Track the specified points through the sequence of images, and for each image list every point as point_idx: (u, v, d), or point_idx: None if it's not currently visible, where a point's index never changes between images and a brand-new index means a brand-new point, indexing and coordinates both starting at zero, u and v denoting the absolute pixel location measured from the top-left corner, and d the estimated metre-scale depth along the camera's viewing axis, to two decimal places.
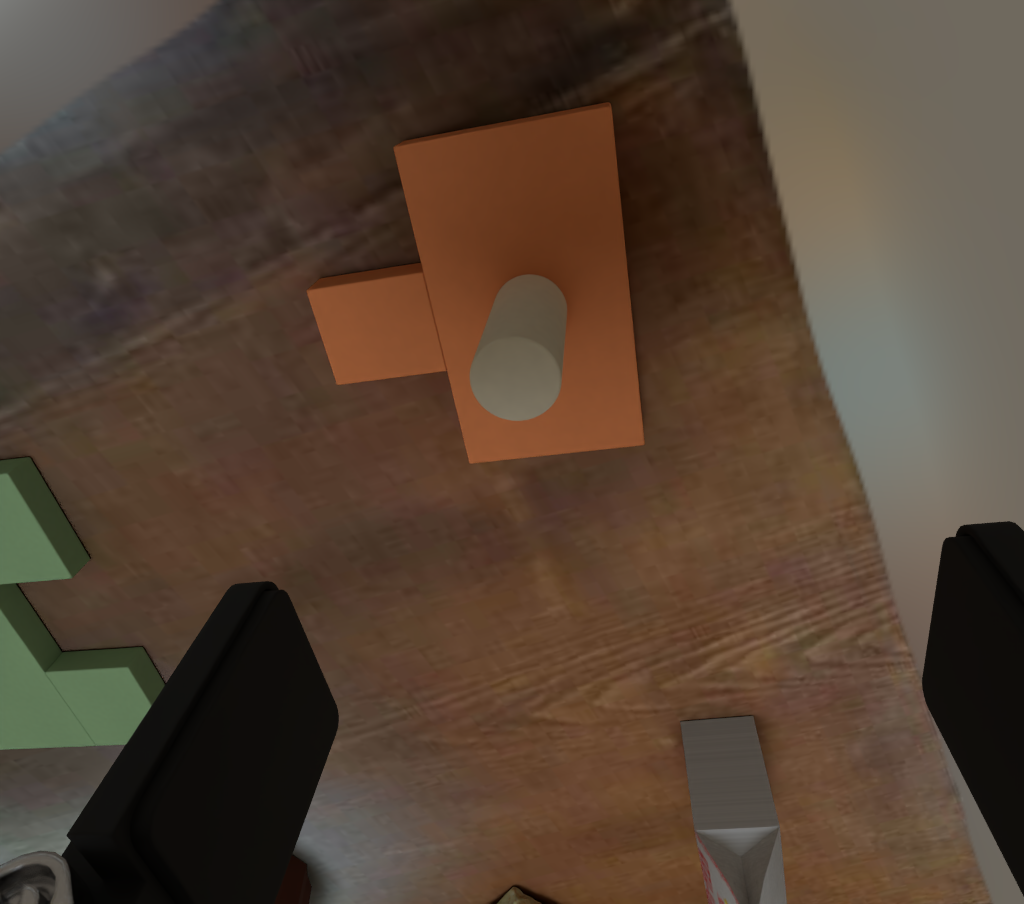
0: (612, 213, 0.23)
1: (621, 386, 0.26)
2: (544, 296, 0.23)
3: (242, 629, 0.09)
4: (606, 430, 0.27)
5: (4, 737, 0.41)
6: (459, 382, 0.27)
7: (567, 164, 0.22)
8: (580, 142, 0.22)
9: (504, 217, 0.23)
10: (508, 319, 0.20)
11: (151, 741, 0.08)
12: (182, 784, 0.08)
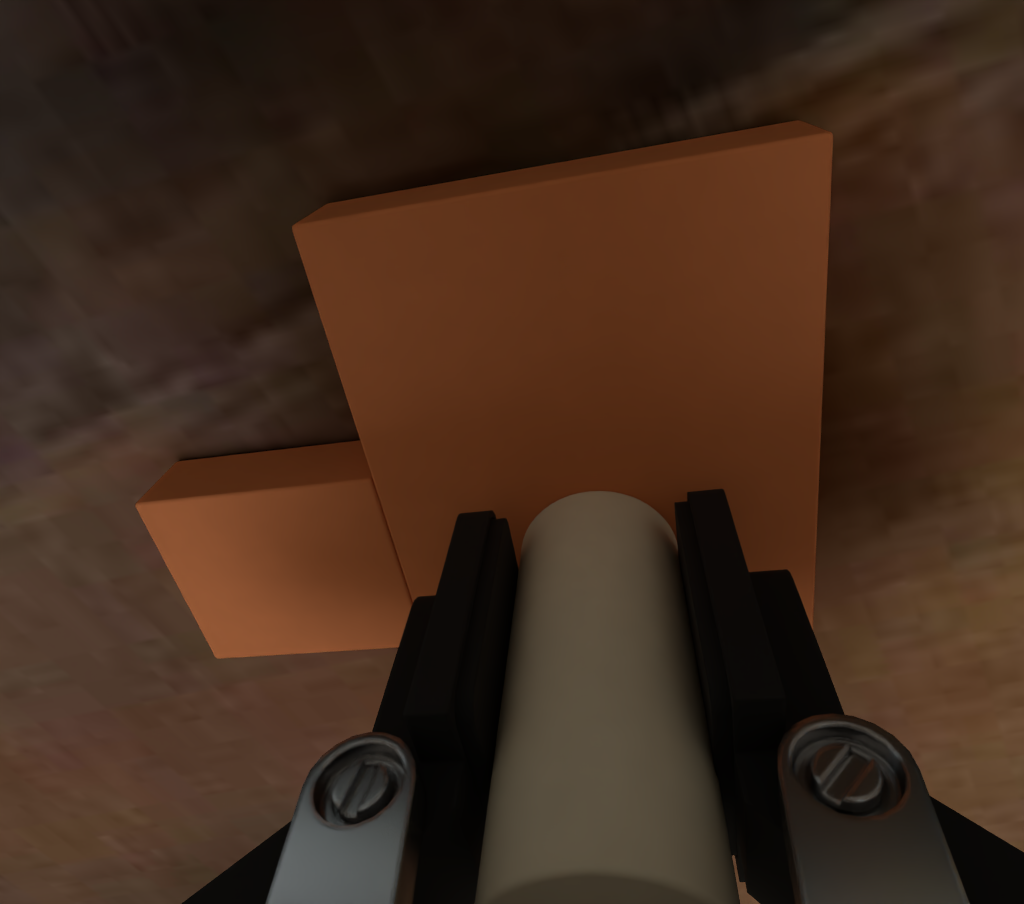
0: (801, 376, 0.10)
1: None
2: (649, 581, 0.10)
3: (486, 550, 0.10)
4: None
5: None
6: None
7: (706, 270, 0.09)
8: (744, 220, 0.09)
9: (550, 379, 0.10)
10: (582, 730, 0.07)
11: (446, 639, 0.08)
12: (481, 677, 0.08)
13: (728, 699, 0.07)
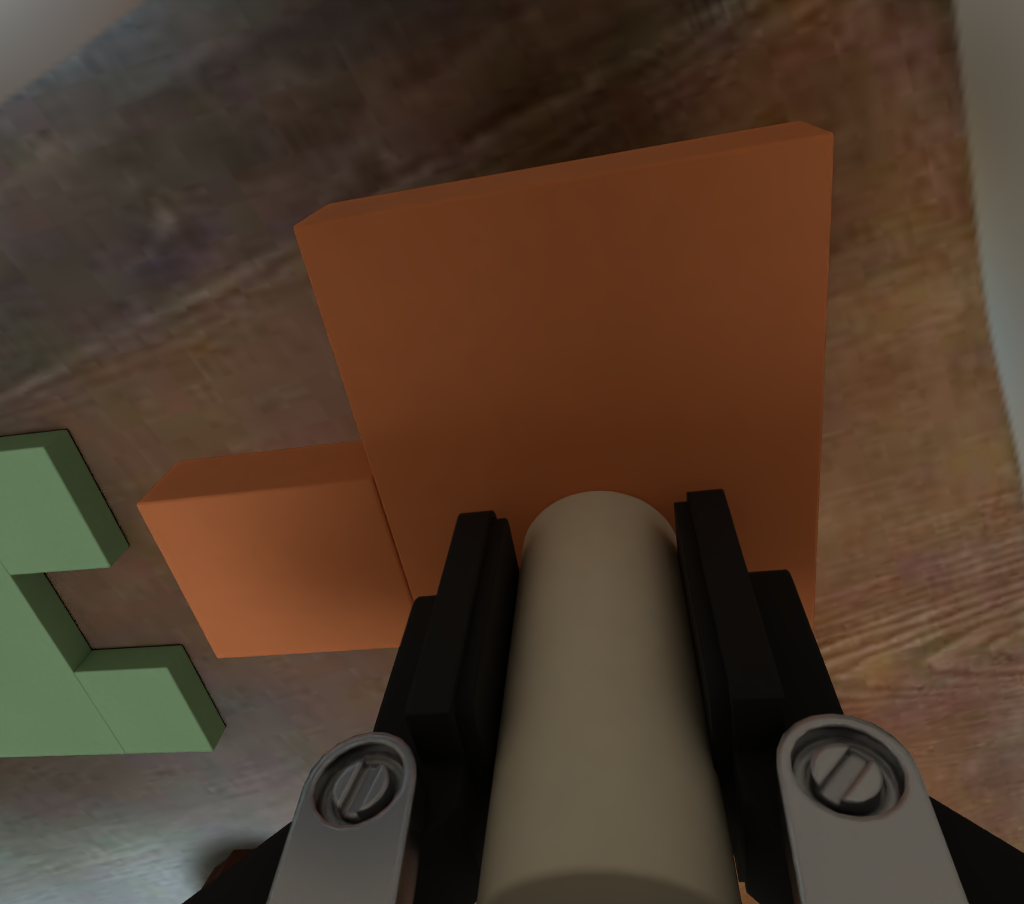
0: (802, 377, 0.10)
1: None
2: (650, 580, 0.10)
3: (487, 549, 0.10)
4: None
5: (24, 743, 0.37)
6: None
7: (707, 270, 0.09)
8: (745, 220, 0.09)
9: (550, 379, 0.10)
10: (582, 729, 0.07)
11: (447, 640, 0.08)
12: (482, 677, 0.08)
13: (727, 699, 0.07)
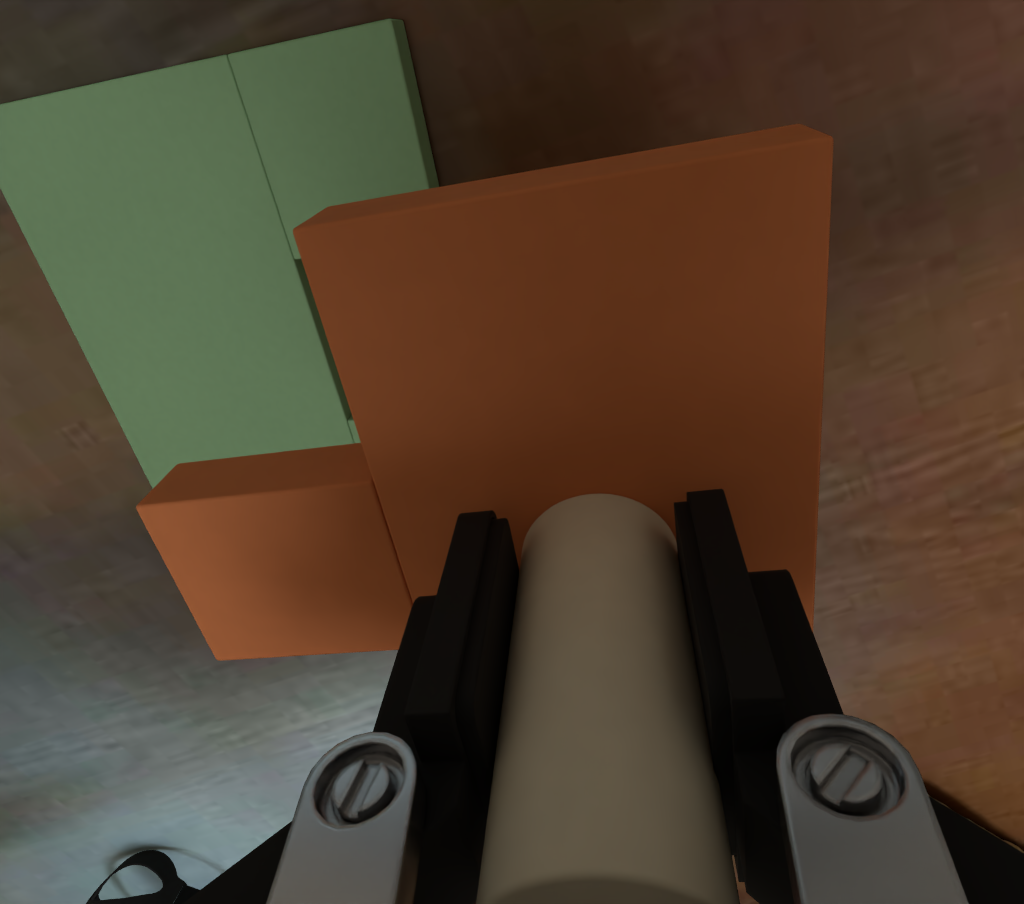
0: (801, 379, 0.10)
1: None
2: (649, 584, 0.10)
3: (487, 549, 0.10)
4: None
5: None
6: None
7: (706, 273, 0.09)
8: (744, 224, 0.09)
9: (550, 383, 0.10)
10: (581, 733, 0.07)
11: (447, 640, 0.08)
12: (482, 677, 0.08)
13: (727, 699, 0.07)
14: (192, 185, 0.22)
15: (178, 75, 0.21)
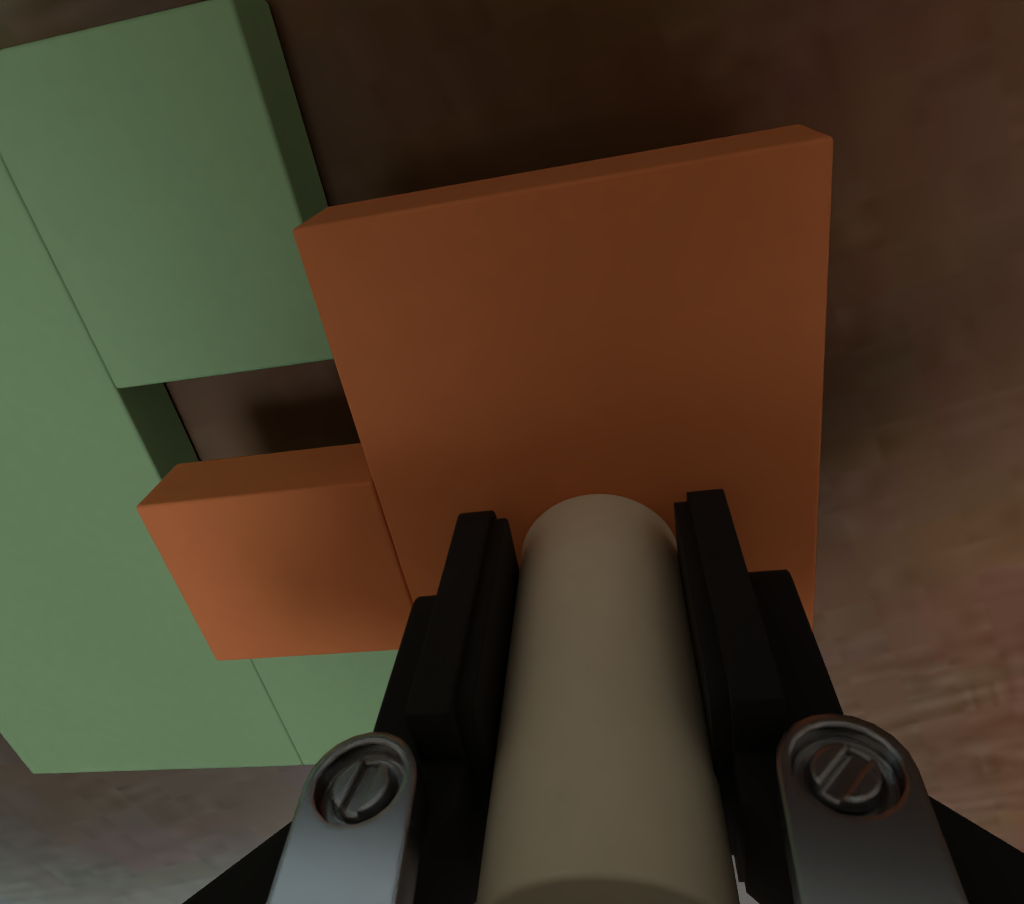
0: (801, 380, 0.10)
1: None
2: (649, 584, 0.10)
3: (487, 549, 0.10)
4: None
5: (116, 749, 0.21)
6: None
7: (706, 274, 0.09)
8: (744, 224, 0.09)
9: (550, 383, 0.10)
10: (582, 733, 0.07)
11: (447, 639, 0.08)
12: (482, 677, 0.08)
13: (727, 699, 0.07)
14: None
15: None
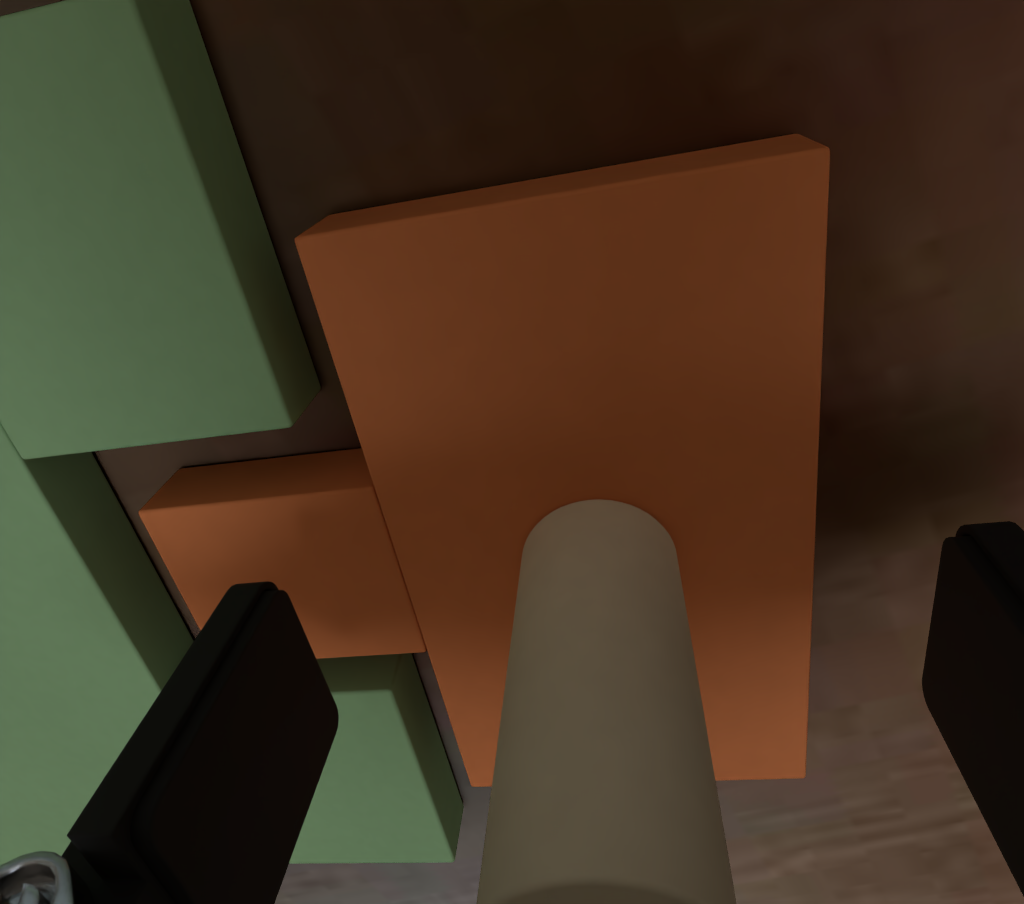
0: (799, 387, 0.10)
1: (773, 691, 0.13)
2: (648, 590, 0.10)
3: (242, 629, 0.09)
4: (735, 754, 0.14)
5: (54, 843, 0.18)
6: (451, 671, 0.14)
7: (704, 282, 0.09)
8: (742, 233, 0.09)
9: (550, 389, 0.10)
10: (581, 739, 0.07)
11: (151, 741, 0.08)
12: (182, 784, 0.08)
13: None
14: None
15: None
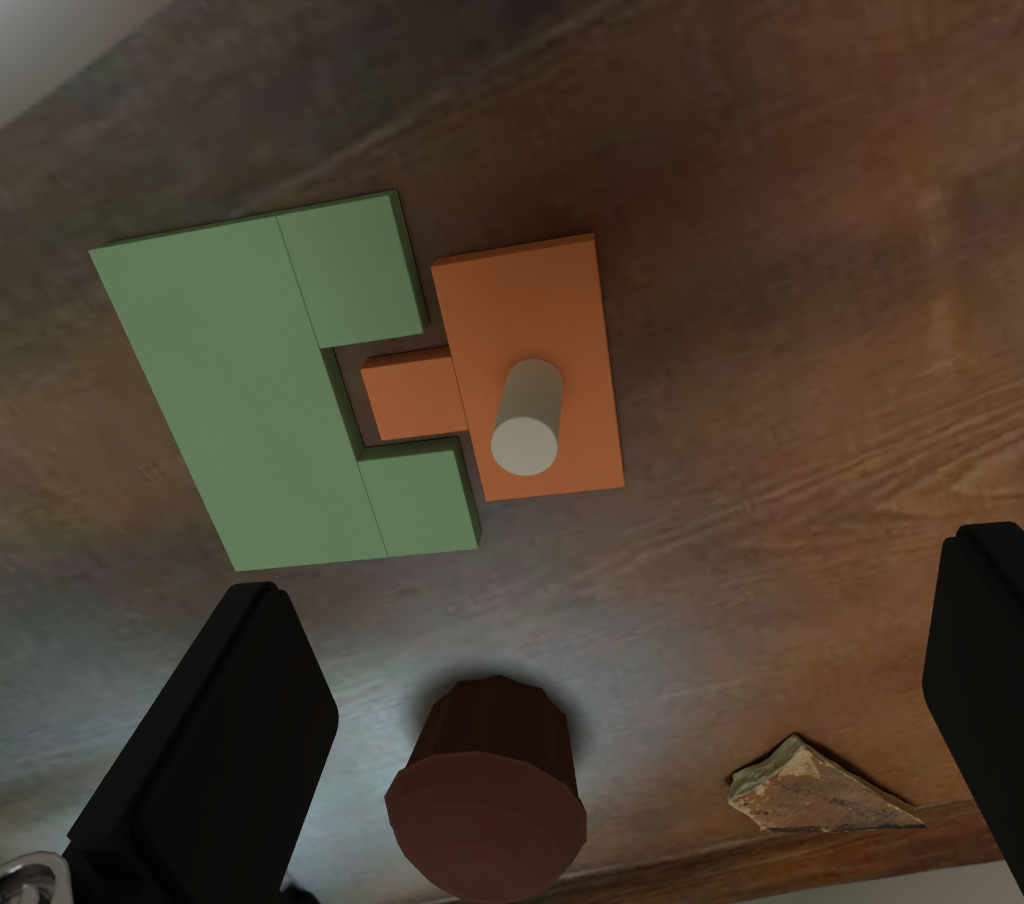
0: (596, 315, 0.30)
1: (605, 441, 0.33)
2: (545, 378, 0.30)
3: (242, 629, 0.09)
4: (595, 475, 0.34)
5: (286, 551, 0.38)
6: (478, 438, 0.34)
7: (561, 280, 0.30)
8: (571, 265, 0.29)
9: (514, 317, 0.31)
10: (519, 401, 0.28)
11: (150, 741, 0.08)
12: (182, 784, 0.08)
13: None
14: (248, 299, 0.31)
15: (242, 228, 0.30)
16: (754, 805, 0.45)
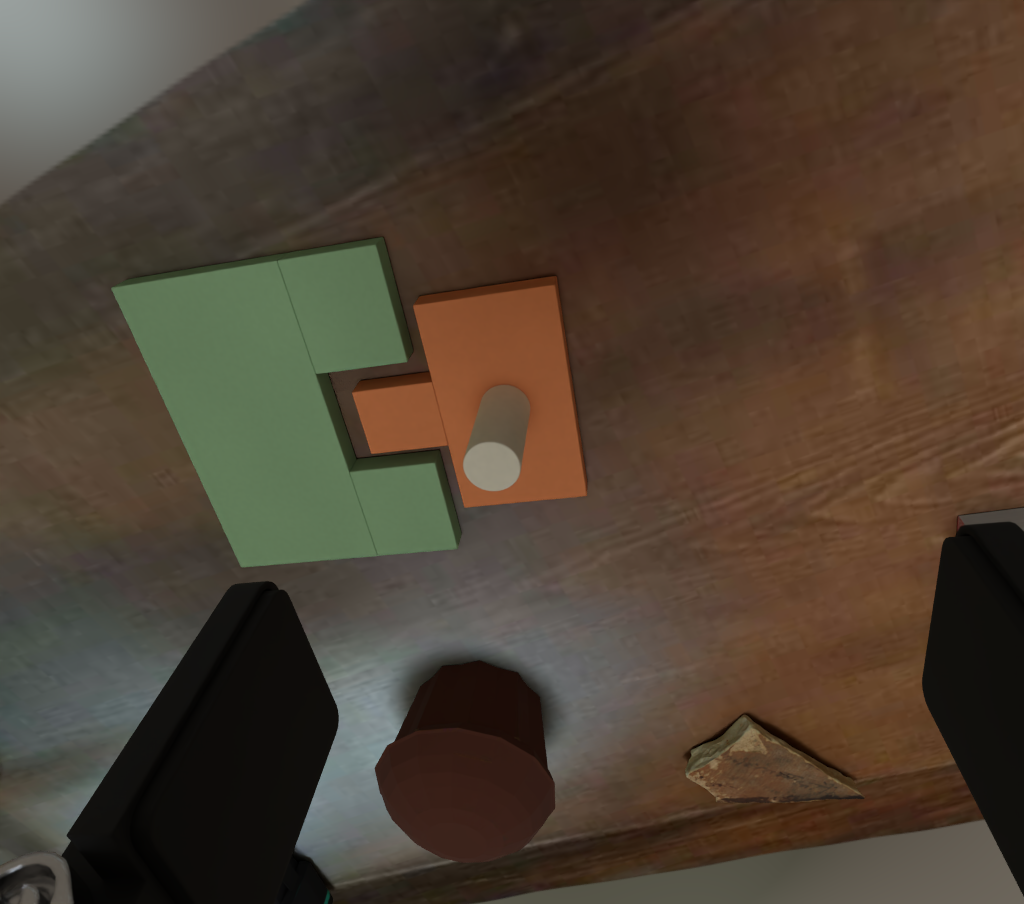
0: (558, 348, 0.35)
1: (569, 456, 0.38)
2: (512, 404, 0.34)
3: (242, 629, 0.09)
4: (560, 485, 0.39)
5: (286, 550, 0.43)
6: (456, 452, 0.38)
7: (527, 318, 0.34)
8: (536, 305, 0.34)
9: (486, 349, 0.35)
10: (488, 426, 0.32)
11: (151, 741, 0.08)
12: (182, 784, 0.08)
13: None
14: (253, 330, 0.36)
15: (247, 271, 0.34)
16: (709, 777, 0.49)
